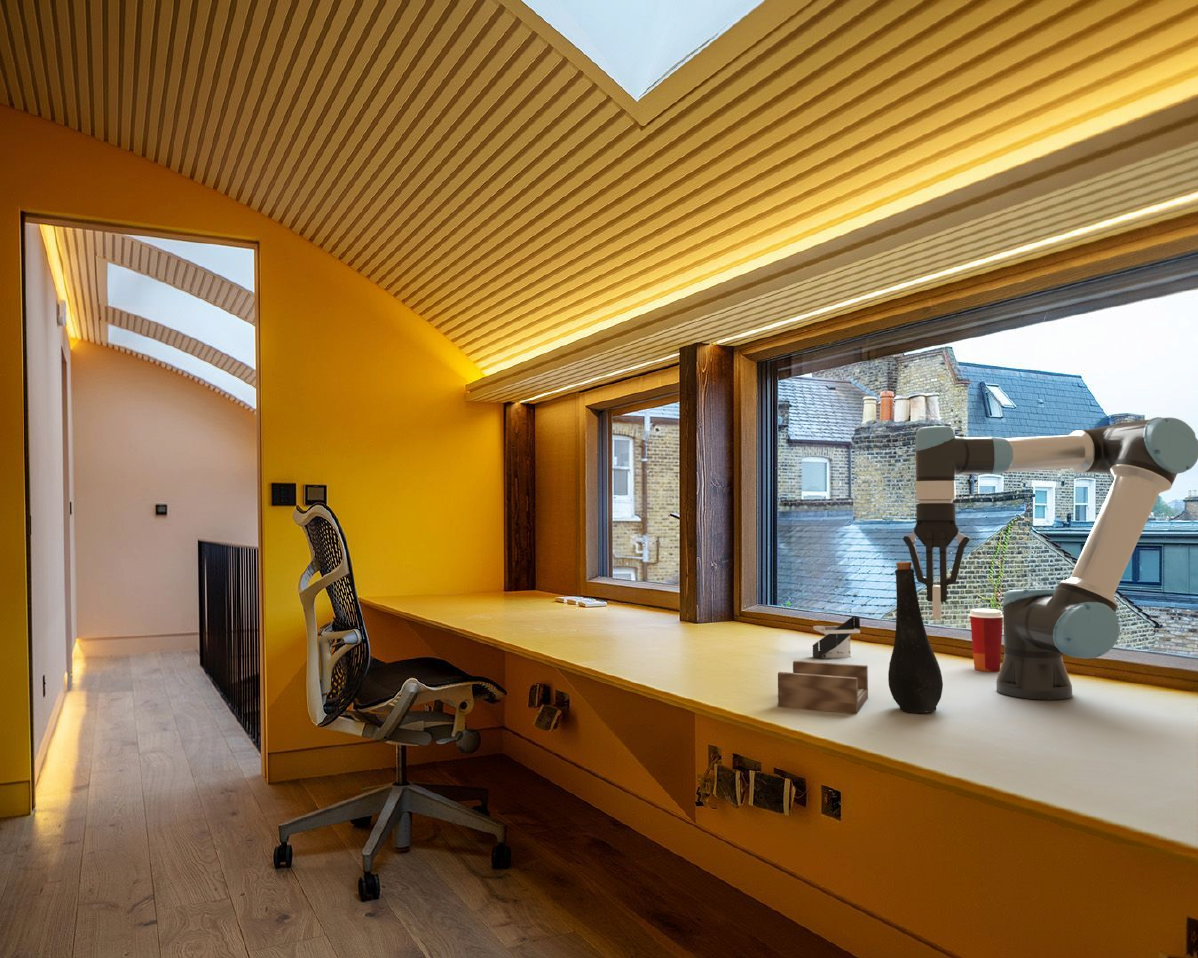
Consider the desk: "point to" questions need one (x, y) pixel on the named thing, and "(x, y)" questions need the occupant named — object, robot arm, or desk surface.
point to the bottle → (912, 652)
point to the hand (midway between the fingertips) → (937, 617)
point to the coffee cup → (986, 638)
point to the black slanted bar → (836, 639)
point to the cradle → (824, 687)
